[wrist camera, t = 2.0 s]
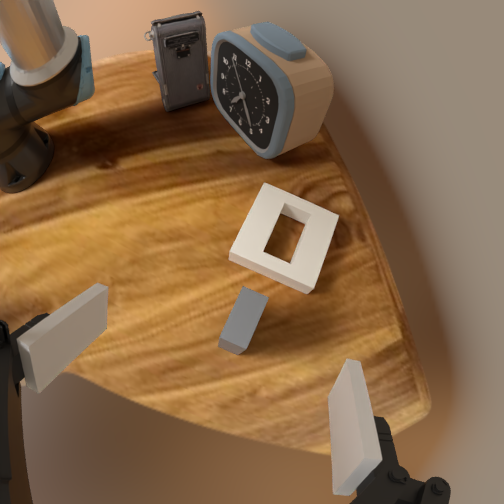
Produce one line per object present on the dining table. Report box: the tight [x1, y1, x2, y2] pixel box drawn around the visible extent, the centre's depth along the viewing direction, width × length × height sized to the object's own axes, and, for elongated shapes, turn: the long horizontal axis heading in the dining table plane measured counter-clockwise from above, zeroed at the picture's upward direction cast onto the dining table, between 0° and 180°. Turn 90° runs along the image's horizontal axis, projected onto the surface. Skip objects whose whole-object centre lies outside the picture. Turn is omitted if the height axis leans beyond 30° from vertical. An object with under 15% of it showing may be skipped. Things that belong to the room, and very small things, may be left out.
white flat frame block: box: [229, 182, 339, 294], centre depth 49 cm, size 13×13×4 cm
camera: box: [144, 11, 210, 112], centre depth 54 cm, size 11×17×20 cm, turn 24°
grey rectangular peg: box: [218, 286, 269, 355], centre depth 39 cm, size 3×6×13 cm, turn 157°
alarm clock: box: [210, 22, 334, 159], centre depth 49 cm, size 21×10×22 cm, turn 35°
